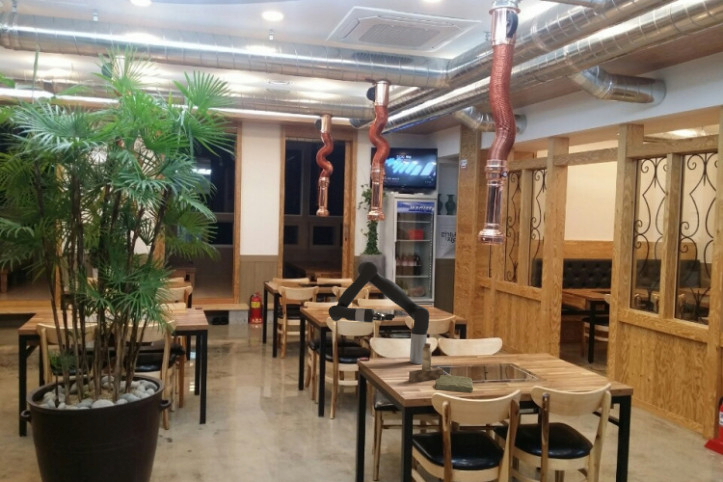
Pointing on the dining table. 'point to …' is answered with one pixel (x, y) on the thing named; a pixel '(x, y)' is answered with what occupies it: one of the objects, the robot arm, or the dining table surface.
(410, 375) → the rail
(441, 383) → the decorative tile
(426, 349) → the pepper mill
